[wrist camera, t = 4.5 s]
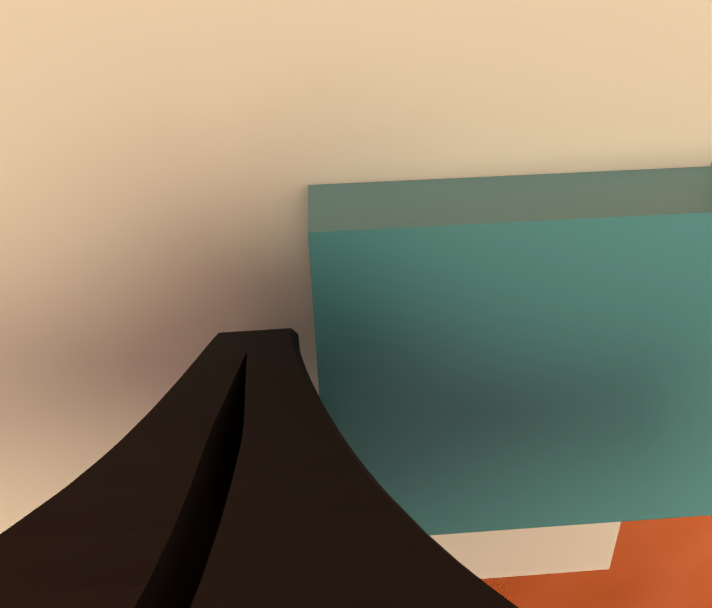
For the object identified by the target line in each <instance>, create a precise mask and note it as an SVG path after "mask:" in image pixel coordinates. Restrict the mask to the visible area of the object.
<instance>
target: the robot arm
mask: <svg viewBox="0 0 712 608" xmlns="http://www.w3.org/2000/svg"><path fill="white" fill-rule="evenodd" d="M0 608H518V607H517V606H515V605H514V604H513V603H511V602H510V601H508V600H507V599H506V598H504V597H503V596H502V595H500V594H499V593H498V592H497V591H495V590H494V589H493V588H491V587H490V586H489V585H487V584H486V583H485V582H483V581H482V580H481V579H480V578H479V577H477V576H476V575H475V574H474V573H472V572H471V571H470V570H469V569H467V568H466V567H465V566H464V565H462V564H461V563H460V562H459V561H458V560H456V559H455V558H454V557H453V556H452V555H451V554H450V553H449V552H447V551H446V550H445V549H444V548H443V547H442V546H441V545H440V544H438V543H437V542H436V541H435V540H434V539H433V538H432V537H431V536H429V535H428V534H427V533H426V532H425V531H424V530H423V529H422V528H421V527H420V526H419V525H418V524H417V523H416V522H415V521H414V520H413V519H412V518H411V517H410V516H409V515H408V514H407V513H406V512H405V511H404V510H403V508H402V507H401V506H400V505H399V504H398V503H397V502H396V501H395V500H394V499H393V498H392V497H391V496H390V495H389V494H388V493H387V492H386V491H385V490H384V489H383V487H382V486H381V485H380V484H379V483H378V482H377V480H376V479H375V478H374V477H373V476H372V474H371V473H370V472H369V471H368V470H367V468H366V467H365V466H364V464H363V463H362V462H361V461H360V459H359V458H358V457H357V455H356V454H355V453H354V451H353V450H352V449H351V447H350V446H349V444H348V443H347V442H346V440H345V439H344V437H343V436H342V434H341V433H340V431H339V430H338V428H337V426H336V425H335V423H334V422H333V420H332V418H331V417H330V415H329V413H328V412H327V410H326V408H325V406H324V405H323V403H322V401H321V399H320V397H319V395H318V393H317V391H316V389H315V387H314V385H313V383H312V381H311V379H310V377H309V374H308V372H307V370H306V367H305V364H304V361H303V359H302V356H301V352H300V346H299V335H298V333H297V332H295V331H294V330H293V329H292V328H285V329H269V330H253V331H237V332H221V333H218V334H217V335H216V336H215V337H214V338H213V339H212V341H211V342H210V343H209V344H208V345H207V346H206V348H205V349H204V350H203V351H202V352H201V354H200V355H199V356H198V357H197V358H196V360H195V361H194V362H193V363H192V364H191V366H190V367H189V368H188V369H187V370H186V371H185V373H184V374H183V375H182V376H181V377H180V379H179V380H178V381H177V382H176V383H175V384H174V385H173V386H172V387H171V389H170V390H169V391H168V392H167V393H166V394H165V395H164V396H163V397H162V399H161V400H160V401H159V402H158V403H157V404H156V405H155V406H154V407H153V408H152V409H151V411H150V412H149V413H148V414H147V415H146V416H145V417H144V418H143V419H142V420H141V421H140V422H139V423H138V424H137V425H136V426H135V427H134V428H133V429H132V430H131V431H130V432H129V433H128V434H127V435H126V436H125V437H124V438H123V439H122V440H120V441H119V442H118V443H117V444H116V445H115V446H114V447H113V448H112V449H111V450H109V451H108V452H107V453H106V454H105V455H104V456H103V457H101V458H100V459H99V460H98V461H97V462H96V463H94V464H93V465H92V466H91V467H90V468H88V469H87V470H86V471H85V472H83V473H82V474H81V475H80V476H79V477H77V478H76V479H75V480H74V481H73V482H71V483H70V484H69V485H68V486H66V487H65V488H64V489H62V490H61V491H60V492H58V493H57V494H56V495H54V496H53V497H52V498H50V499H49V500H47V501H46V502H45V503H43V504H42V505H40V506H39V507H38V508H36V509H35V510H33V511H32V512H31V513H29V514H28V515H26V516H25V517H23V518H22V519H21V520H19V521H18V522H16V523H15V524H14V525H12V526H11V527H9V528H8V529H7V530H5V531H4V532H2V533H1V534H0Z"/></svg>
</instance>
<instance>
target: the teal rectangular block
mask: <svg viewBox="0 0 712 608" xmlns="http://www.w3.org/2000/svg"><path fill="white" fill-rule="evenodd" d="M308 242H309V256H310V271H311V285H312V299H313V314H314V328H315V343H316V357H317V371H318V386H319V397H320V399H321V401H322V403H323V405H324V406H325V408H326V410H327V412H328V413H329V415H330V417H331V418H332V420H333V422H334V423H335V425H336V426H337V428H338V430H339V431H340V433H341V434H342V436H343V437H344V439H345V440H346V442H347V443H348V444H349V446H350V447H351V449H352V450H353V451H354V453H355V454H356V455H357V457H358V458H359V459H360V461H361V462H362V463H363V464H364V466H365V467H366V468H367V470H368V471H369V472H370V473H371V474H372V476H373V477H374V478H375V479H376V480H377V482H378V483H379V484H380V485H381V486H382V487H383V489H384V490H385V491H386V492H387V493H388V494H389V495H390V496H391V497H392V498H393V499H394V500H395V501H396V502H397V503H398V504H399V505H400V506H401V507H402V508H403V510H404V511H405V512H406V513H407V514H408V515H409V516H410V517H411V518H412V519H413V520H414V521H415V522H416V523H417V524H418V525H419V526H420V527H421V528H422V529H423V530H424V531H425V532H426V533H427V534H428V535H443V534H457V533H471V532H484V531H498V530H512V529H526V528H540V527H553V526H567V525H581V524H595V523H609V522H622V521H636V520H650V519H664V518H678V517H691V516H705V515H712V166H705V167H684V168H663V169H641V170H620V171H599V172H577V173H556V174H535V175H513V176H492V177H471V178H449V179H428V180H406V181H385V182H364V183H342V184H321V185H308Z"/></svg>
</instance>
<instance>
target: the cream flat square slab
mask: <svg viewBox="0 0 712 608" xmlns="http://www.w3.org/2000/svg"><path fill="white" fill-rule="evenodd" d="M711 162H712V0H0V534H1V533H2V532H4V531H5V530H7V529H8V528H9V527H11V526H12V525H14V524H15V523H16V522H18V521H19V520H21V519H22V518H23V517H25V516H26V515H28V514H29V513H31V512H32V511H33V510H35V509H36V508H38V507H39V506H40V505H42V504H43V503H45V502H46V501H47V500H49V499H50V498H52V497H53V496H54V495H56V494H57V493H58V492H60V491H61V490H62V489H64V488H65V487H66V486H68V485H69V484H70V483H71V482H73V481H74V480H75V479H76V478H77V477H79V476H80V475H81V474H82V473H83V472H85V471H86V470H87V469H88V468H90V467H91V466H92V465H93V464H94V463H96V462H97V461H98V460H99V459H100V458H101V457H103V456H104V455H105V454H106V453H107V452H108V451H109V450H111V449H112V448H113V447H114V446H115V445H116V444H117V443H118V442H119V441H120V440H122V439H123V438H124V437H125V436H126V435H127V434H128V433H129V432H130V431H131V430H132V429H133V428H134V427H135V426H136V425H137V424H138V423H139V422H140V421H141V420H142V419H143V418H144V417H145V416H146V415H147V414H148V413H149V412H150V411H151V409H152V408H153V407H154V406H155V405H156V404H157V403H158V402H159V401H160V400H161V399H162V397H163V396H164V395H165V394H166V393H167V392H168V391H169V390H170V389H171V387H172V386H173V385H174V384H175V383H176V382H177V381H178V380H179V379H180V377H181V376H182V375H183V374H184V373H185V371H186V370H187V369H188V368H189V367H190V366H191V364H192V363H193V362H194V361H195V360H196V358H197V357H198V356H199V355H200V354H201V352H202V351H203V350H204V349H205V348H206V346H207V345H208V344H209V343H210V342H211V341H212V339H213V338H214V337H215V336H216V335H217V334H218V333H221V332H237V331H253V330H269V329H285V328H292V329H293V330H294V331H295V332H297V333H298V335H299V346H300V352H301V356H302V359H303V361H304V364H305V367H306V370H307V372H308V374H309V377H310V379H311V381H312V383H313V385H314V387H315V389H316V391H317V393H318V395H319V386H318V371H317V357H316V343H315V328H314V314H313V299H312V285H311V271H310V256H309V242H308V185H321V184H342V183H364V182H385V181H406V180H428V179H449V178H471V177H492V176H513V175H535V174H556V173H577V172H599V171H620V170H641V169H663V168H684V167H705V166H711ZM620 524H621V522H609V523H595V524H581V525H567V526H553V527H540V528H526V529H512V530H498V531H484V532H471V533H457V534H443V535H429V536H431V537H432V538H433V539H434V540H435V541H436V542H437V543H438V544H440V545H441V546H442V547H443V548H444V549H445V550H446V551H447V552H449V553H450V554H451V555H452V556H453V557H454V558H455V559H456V560H458V561H459V562H460V563H461V564H462V565H464V566H465V567H466V568H467V569H469V570H470V571H471V572H472V573H474V574H475V575H476V576H477V577H479V578H480V579H486V578H500V577H513V576H526V575H539V574H552V573H565V572H578V571H591V570H604V569H609V567H610V563H611V560H612V556H613V552H614V548H615V544H616V540H617V536H618V532H619V528H620Z"/></svg>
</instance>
